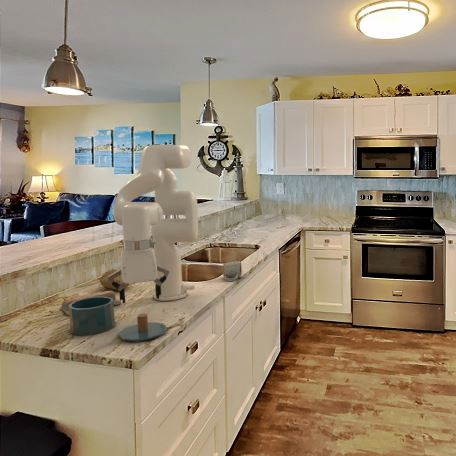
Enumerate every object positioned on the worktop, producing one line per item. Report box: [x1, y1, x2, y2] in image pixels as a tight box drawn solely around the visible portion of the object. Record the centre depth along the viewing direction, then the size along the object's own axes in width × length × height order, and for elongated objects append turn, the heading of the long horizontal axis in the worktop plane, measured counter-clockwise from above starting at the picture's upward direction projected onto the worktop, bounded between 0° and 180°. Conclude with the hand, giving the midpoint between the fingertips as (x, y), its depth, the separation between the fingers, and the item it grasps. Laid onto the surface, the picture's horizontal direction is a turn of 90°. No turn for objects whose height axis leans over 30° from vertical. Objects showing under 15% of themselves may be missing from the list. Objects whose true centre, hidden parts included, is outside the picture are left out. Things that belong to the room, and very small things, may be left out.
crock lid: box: [118, 313, 167, 342], centre depth 129 cm, size 14×14×6 cm
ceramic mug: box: [222, 261, 243, 282], centre depth 193 cm, size 11×8×8 cm
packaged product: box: [60, 290, 122, 316], centre depth 154 cm, size 18×5×10 cm
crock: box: [68, 297, 116, 336], centre depth 134 cm, size 13×13×8 cm
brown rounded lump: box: [99, 269, 130, 291], centre depth 179 cm, size 13×8×20 cm
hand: (141, 299), depth 127 cm, fingers open, 9 cm apart
